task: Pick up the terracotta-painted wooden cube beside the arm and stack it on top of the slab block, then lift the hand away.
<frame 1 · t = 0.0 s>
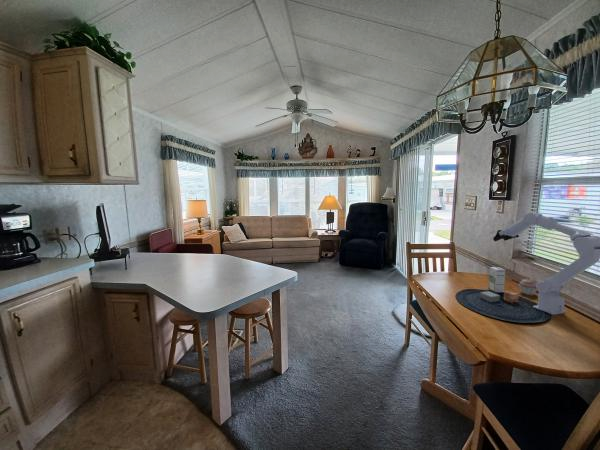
hand: (499, 239, 157), 32 cm above the table, tool tilted 50°, fingers open, 7 cm apart
slate slab block: (489, 299, 148), on the table
cupcake: (527, 293, 155), on the table
terracotta cube: (510, 301, 145), on the table
syrup box: (495, 290, 160), on the table
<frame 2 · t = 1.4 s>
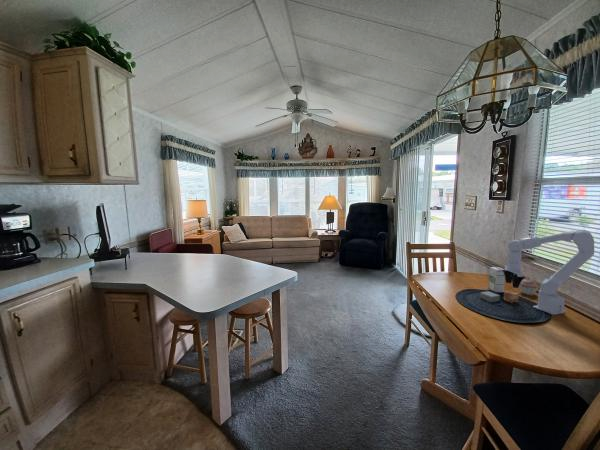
hand: (511, 285, 144), 9 cm above the table, tool pointing down, fingers open, 7 cm apart
nothing on the table moved.
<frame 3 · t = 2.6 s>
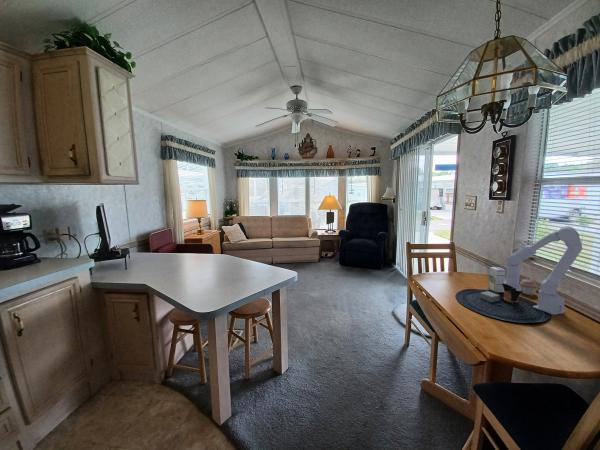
hand: (510, 298, 145), 1 cm above the table, tool pointing down, fingers closed on terracotta cube, 6 cm apart
terracotta cube: (510, 300, 145), on the table, touching gripper
everything else where it was.
when the fingers open (6 cm above the table, at t = 5.7 s): terracotta cube drops 1 cm, resting on slate slab block.
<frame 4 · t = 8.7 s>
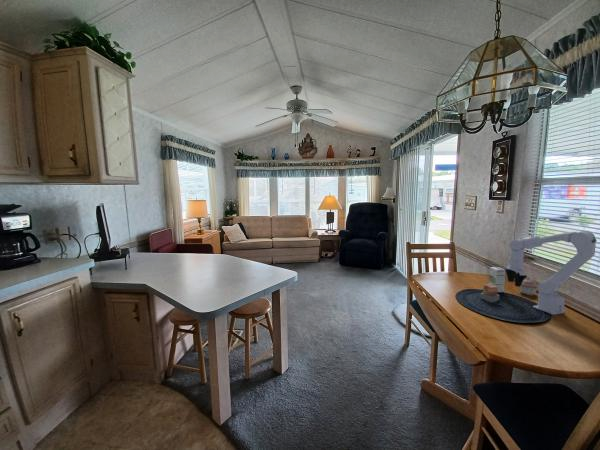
hand: (514, 283, 145), 9 cm above the table, tool pointing down, fingers open, 7 cm apart
slate slab block: (489, 299, 147), on the table, touching terracotta cube
terracotta cube: (489, 294, 147), point 3 cm above the table, touching slate slab block
everything else where it was.
at the end: terracotta cube 0.1 cm off-centre on the slate slab block, point 3.5 cm above the slate slab block's base; terracotta cube tilted 0°; the gripper is holding nothing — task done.
